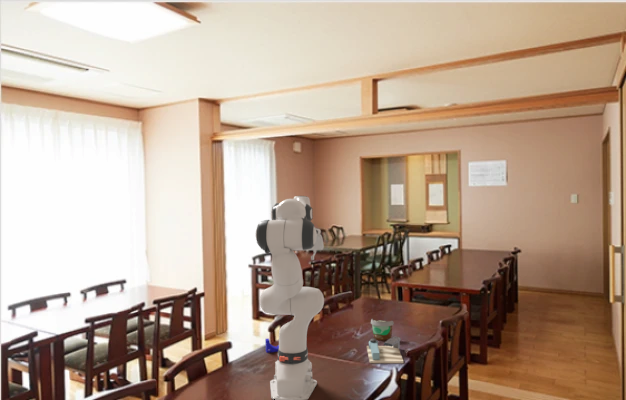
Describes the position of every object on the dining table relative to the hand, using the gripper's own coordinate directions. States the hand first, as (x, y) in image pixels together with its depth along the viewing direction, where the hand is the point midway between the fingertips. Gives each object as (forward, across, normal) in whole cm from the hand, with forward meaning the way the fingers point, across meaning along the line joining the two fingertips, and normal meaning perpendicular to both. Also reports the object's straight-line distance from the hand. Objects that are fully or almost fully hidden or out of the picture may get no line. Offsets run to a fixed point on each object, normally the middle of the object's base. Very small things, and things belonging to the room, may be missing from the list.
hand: (302, 259), depth 206 cm
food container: (+46, +39, +23) cm, 64 cm away
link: (+44, +33, 0) cm, 55 cm away
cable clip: (+46, -13, +10) cm, 49 cm away
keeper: (+46, +42, +4) cm, 62 cm away
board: (+46, +38, 0) cm, 59 cm away
